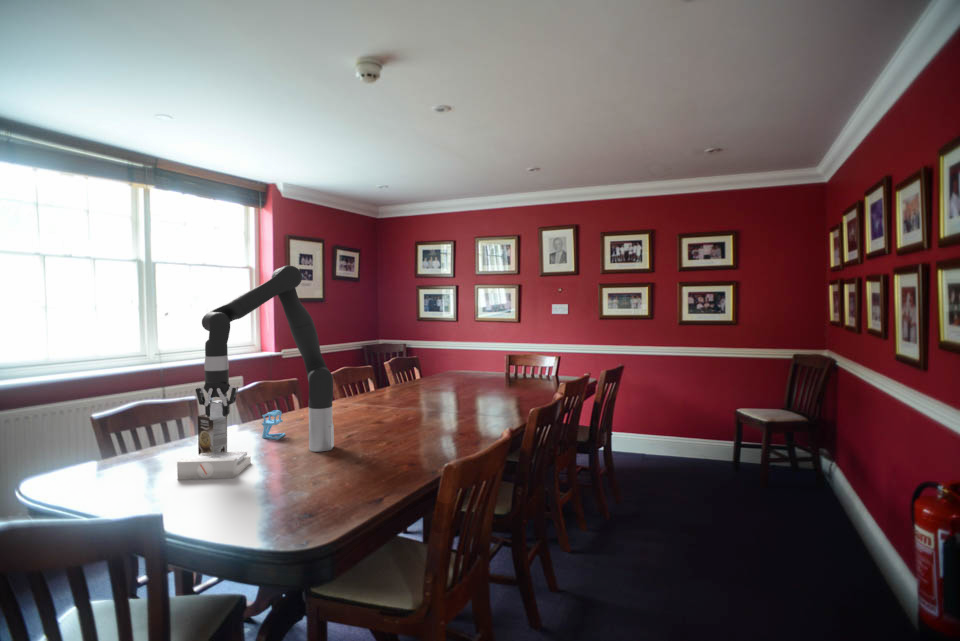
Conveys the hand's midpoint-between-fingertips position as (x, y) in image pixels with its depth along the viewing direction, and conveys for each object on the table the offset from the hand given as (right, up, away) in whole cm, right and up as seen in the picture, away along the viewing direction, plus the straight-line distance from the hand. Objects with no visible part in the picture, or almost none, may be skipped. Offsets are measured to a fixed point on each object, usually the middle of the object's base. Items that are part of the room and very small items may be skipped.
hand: (217, 415), depth 177 cm
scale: (0, -19, -1) cm, 19 cm away
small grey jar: (0, -1, 0) cm, 1 cm away
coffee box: (-9, -19, +15) cm, 26 cm away
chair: (+2, -18, +43) cm, 47 cm away
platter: (0, -16, 0) cm, 16 cm away
